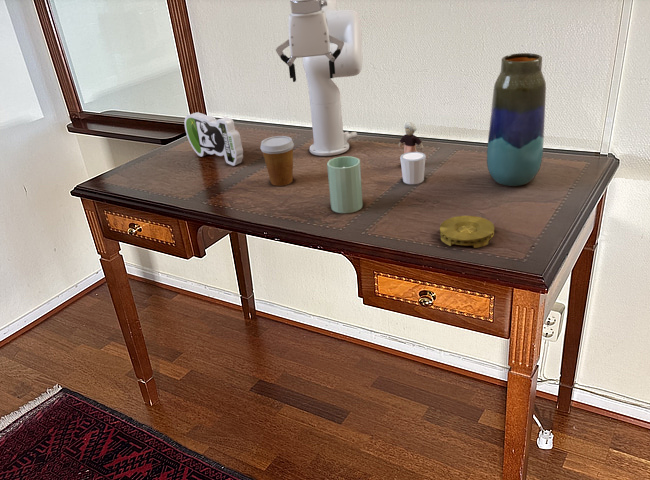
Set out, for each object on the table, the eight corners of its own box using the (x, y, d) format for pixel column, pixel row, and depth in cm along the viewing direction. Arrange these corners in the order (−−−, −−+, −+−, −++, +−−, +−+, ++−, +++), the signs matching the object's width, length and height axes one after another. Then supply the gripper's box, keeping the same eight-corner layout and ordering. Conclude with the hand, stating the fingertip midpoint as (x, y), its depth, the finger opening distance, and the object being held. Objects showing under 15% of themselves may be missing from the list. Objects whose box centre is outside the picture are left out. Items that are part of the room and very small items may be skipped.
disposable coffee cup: (283, 172, 187) (277, 133, 180) (305, 179, 181) (300, 138, 174) (258, 183, 182) (252, 143, 175) (280, 190, 176) (274, 149, 169)
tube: (351, 197, 168) (348, 153, 161) (368, 206, 161) (366, 162, 155) (325, 205, 164) (321, 162, 158) (341, 216, 158) (338, 171, 152)
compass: (434, 245, 141) (434, 237, 140) (445, 222, 150) (445, 214, 149) (489, 250, 137) (490, 241, 136) (497, 226, 146) (497, 217, 145)
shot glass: (429, 176, 174) (429, 152, 171) (421, 186, 169) (421, 161, 166) (405, 174, 177) (404, 150, 173) (397, 184, 172) (396, 159, 168)
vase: (549, 176, 167) (563, 53, 150) (523, 195, 159) (535, 66, 142) (502, 167, 175) (509, 49, 158) (475, 184, 167) (480, 61, 150)
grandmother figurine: (396, 167, 182) (394, 124, 175) (399, 162, 185) (398, 120, 178) (422, 169, 179) (422, 125, 173) (425, 164, 182) (425, 120, 176)
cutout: (239, 121, 188) (188, 104, 202) (232, 124, 186) (181, 106, 201) (245, 168, 197) (195, 149, 211) (238, 171, 195) (188, 151, 209)
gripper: (340, 1, 157) (345, 72, 166) (271, 8, 158) (280, 78, 167) (341, 6, 151) (346, 79, 160) (270, 13, 151) (279, 85, 161)
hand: (313, 78), depth 163 cm, fingers open, 9 cm apart
